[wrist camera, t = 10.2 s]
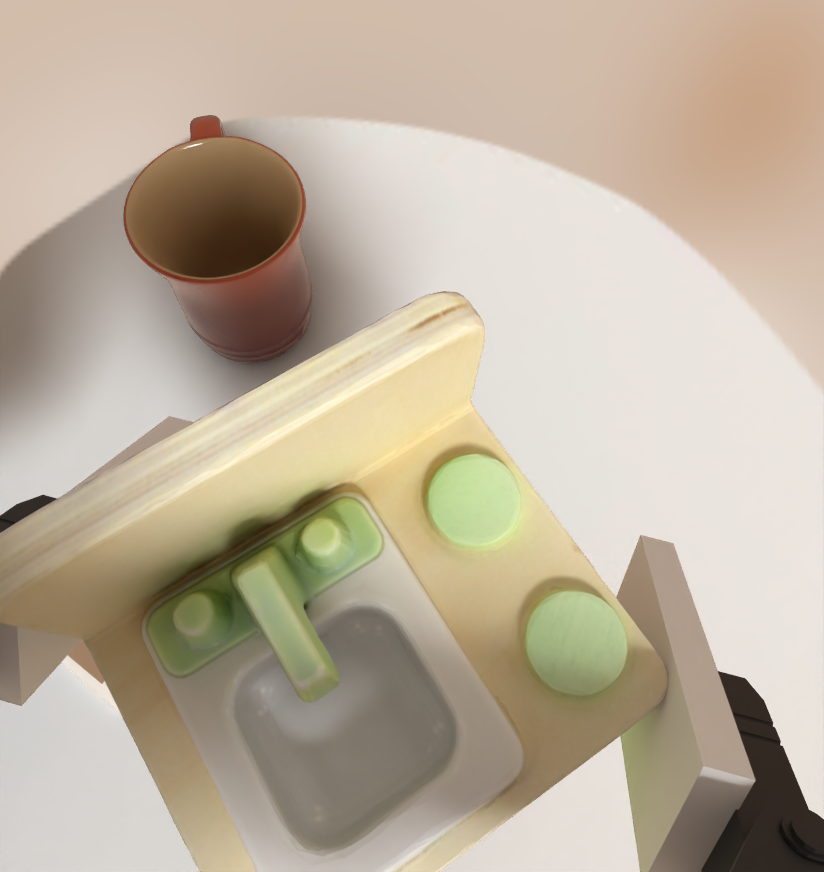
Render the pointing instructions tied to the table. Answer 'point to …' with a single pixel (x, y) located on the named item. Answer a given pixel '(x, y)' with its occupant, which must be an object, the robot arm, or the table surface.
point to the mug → (226, 240)
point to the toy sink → (339, 612)
